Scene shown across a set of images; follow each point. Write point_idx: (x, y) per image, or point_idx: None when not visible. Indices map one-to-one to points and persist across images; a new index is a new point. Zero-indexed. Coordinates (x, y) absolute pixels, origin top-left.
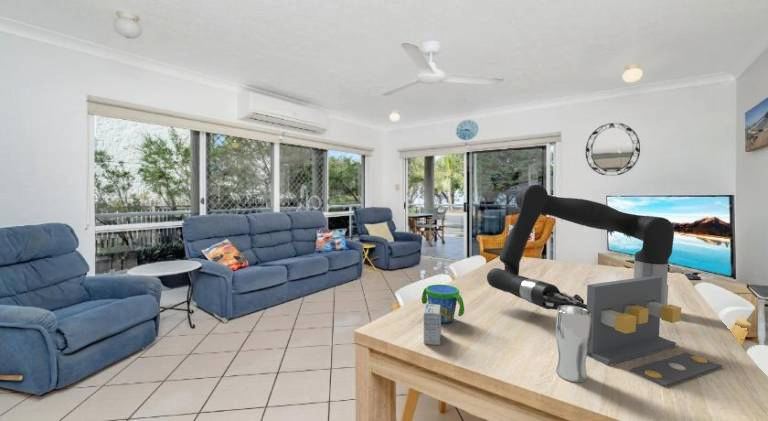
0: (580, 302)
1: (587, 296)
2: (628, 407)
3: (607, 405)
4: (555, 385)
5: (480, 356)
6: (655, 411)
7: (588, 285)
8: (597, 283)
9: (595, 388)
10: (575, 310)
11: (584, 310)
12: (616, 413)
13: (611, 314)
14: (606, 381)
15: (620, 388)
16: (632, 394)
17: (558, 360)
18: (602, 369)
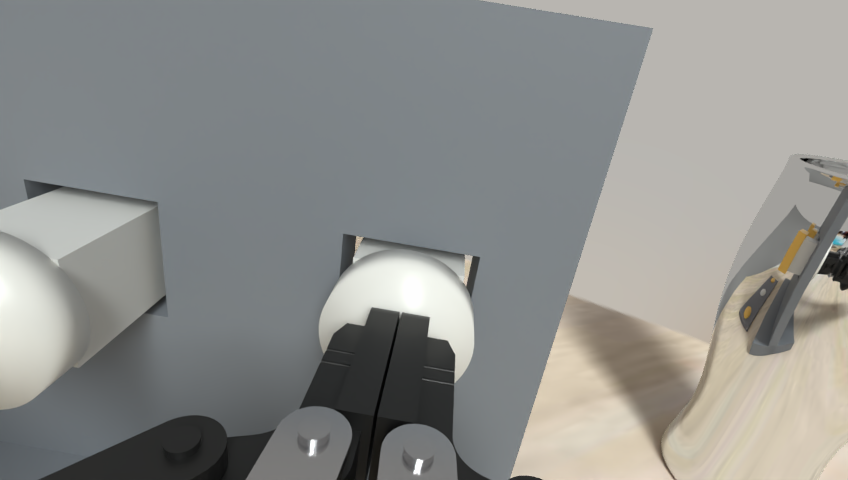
0: (336, 411)
1: (608, 159)
2: (637, 331)
3: (693, 355)
4: (840, 472)
5: None
6: (580, 303)
7: (646, 33)
8: (490, 2)
9: (674, 395)
10: (844, 208)
11: (804, 173)
12: (690, 337)
13: None
14: (598, 392)
15: (583, 360)
16: (574, 338)
17: (818, 477)
18: (536, 429)
